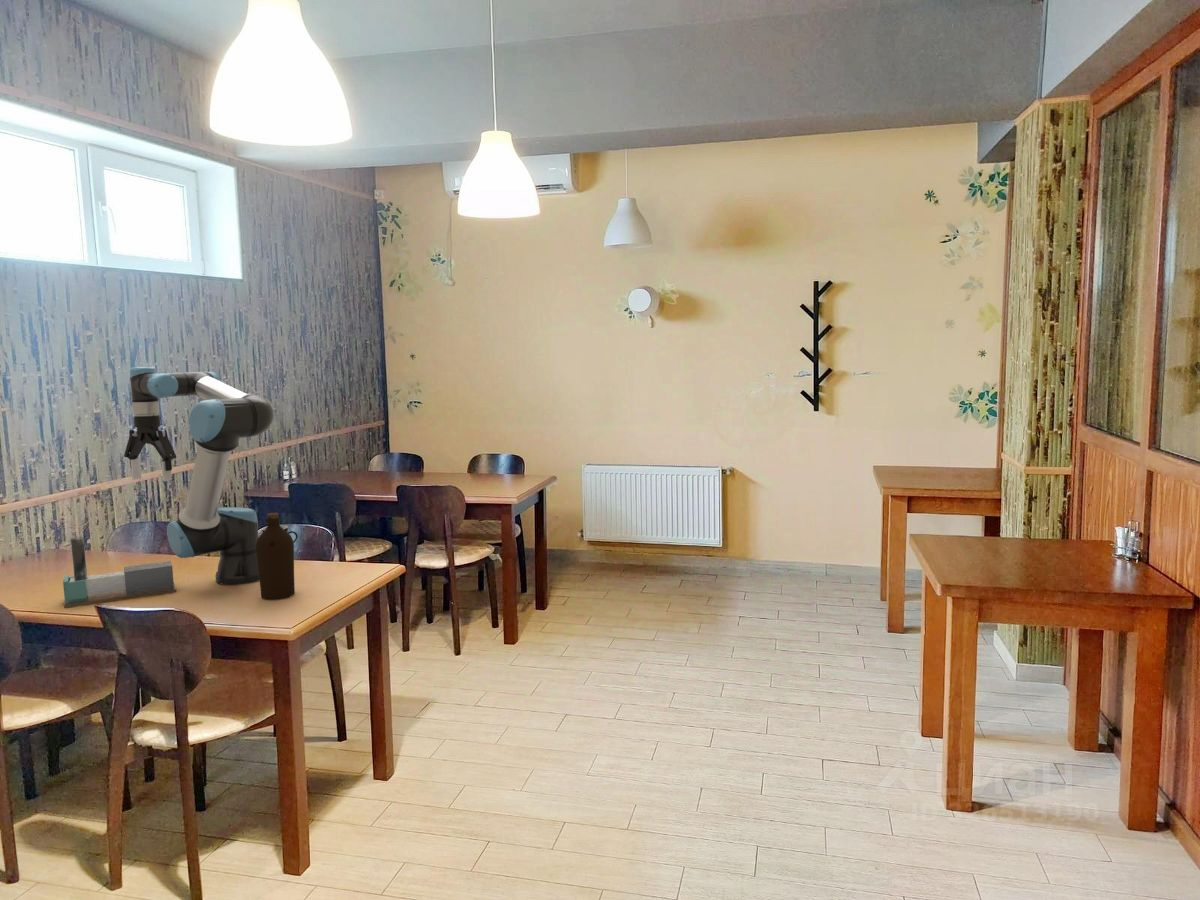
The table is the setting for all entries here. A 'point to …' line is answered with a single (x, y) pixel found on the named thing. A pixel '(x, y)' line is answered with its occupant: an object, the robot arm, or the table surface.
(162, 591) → the base plate with blocks
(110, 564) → the table surface
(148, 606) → the table surface
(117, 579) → the metal plate with post
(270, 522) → the olive oil
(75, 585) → the teal bracket
